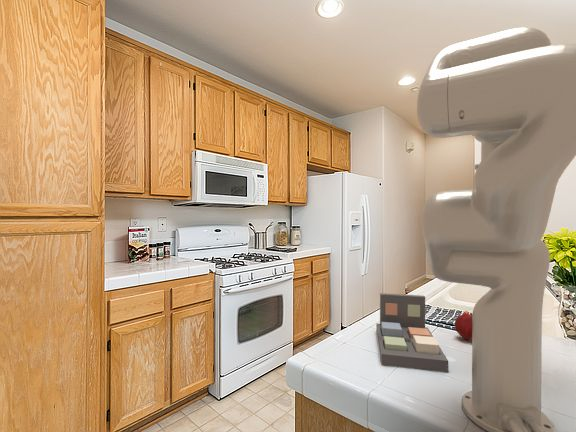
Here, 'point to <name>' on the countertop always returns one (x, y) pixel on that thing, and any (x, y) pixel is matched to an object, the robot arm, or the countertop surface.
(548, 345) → the countertop surface
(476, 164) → the robot arm
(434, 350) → the cream key
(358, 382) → the countertop surface
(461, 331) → the red spiky ovoid
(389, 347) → the sage key
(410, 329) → the terracotta key
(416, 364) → the keypad
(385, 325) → the slate key
